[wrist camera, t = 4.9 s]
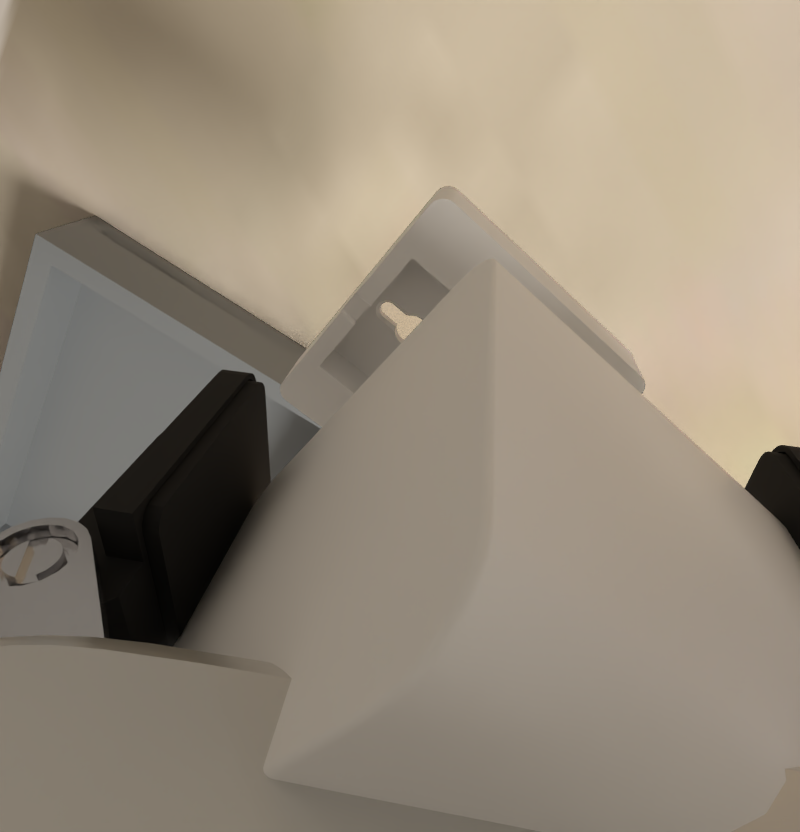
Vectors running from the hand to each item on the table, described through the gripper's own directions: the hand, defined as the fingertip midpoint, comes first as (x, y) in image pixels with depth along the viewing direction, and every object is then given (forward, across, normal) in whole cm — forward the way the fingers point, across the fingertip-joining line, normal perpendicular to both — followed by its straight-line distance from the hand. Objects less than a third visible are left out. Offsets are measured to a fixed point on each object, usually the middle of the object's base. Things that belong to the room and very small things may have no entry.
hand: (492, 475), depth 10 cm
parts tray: (+13, +15, +12) cm, 23 cm away
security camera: (+3, 0, 0) cm, 3 cm away
